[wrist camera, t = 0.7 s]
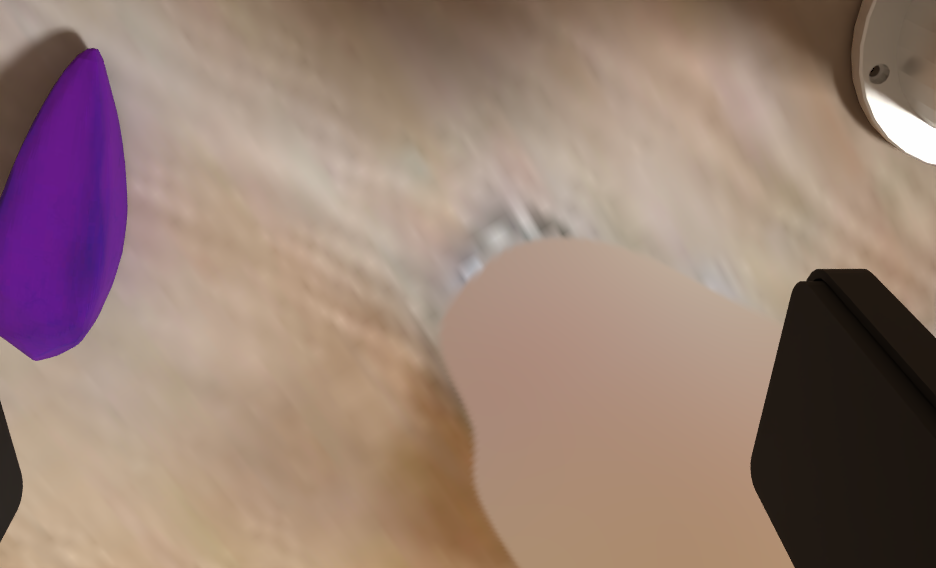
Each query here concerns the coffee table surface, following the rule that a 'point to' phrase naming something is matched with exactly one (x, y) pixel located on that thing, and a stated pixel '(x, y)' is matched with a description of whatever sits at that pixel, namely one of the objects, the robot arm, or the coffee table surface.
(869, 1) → the robot arm
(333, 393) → the coffee table surface
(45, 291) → the purple petal shape
